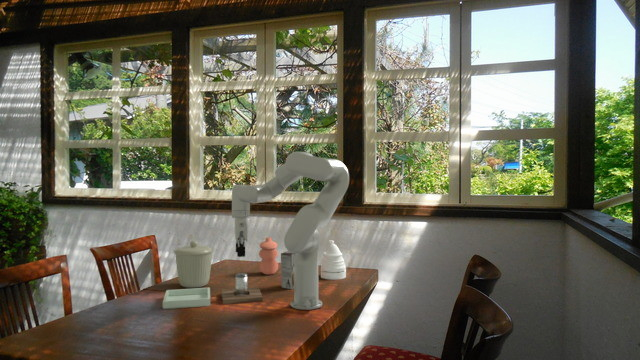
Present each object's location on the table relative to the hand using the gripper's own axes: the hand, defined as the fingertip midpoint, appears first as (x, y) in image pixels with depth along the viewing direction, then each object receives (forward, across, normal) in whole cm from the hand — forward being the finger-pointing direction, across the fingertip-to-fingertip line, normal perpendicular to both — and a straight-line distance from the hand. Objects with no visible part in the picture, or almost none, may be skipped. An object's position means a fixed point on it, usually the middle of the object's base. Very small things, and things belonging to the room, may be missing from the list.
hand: (240, 254), depth 194 cm
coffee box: (+18, +12, -25) cm, 34 cm away
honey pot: (+18, +27, -49) cm, 59 cm away
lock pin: (+18, -1, -1) cm, 19 cm away
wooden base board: (+18, -1, -1) cm, 19 cm away
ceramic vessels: (+19, +32, -25) cm, 45 cm away
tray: (+19, -1, +21) cm, 28 cm away
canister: (+19, +26, +19) cm, 38 cm away
